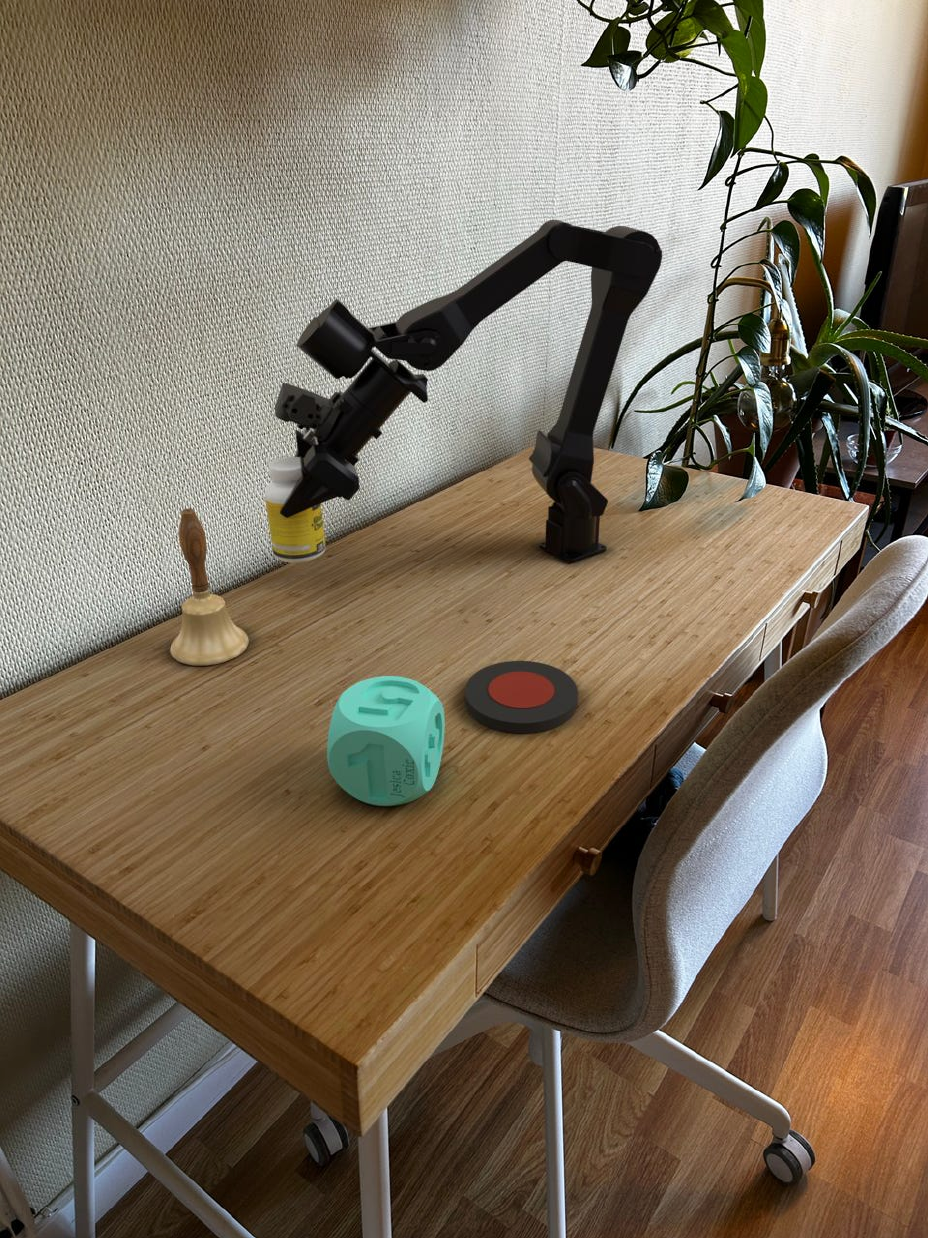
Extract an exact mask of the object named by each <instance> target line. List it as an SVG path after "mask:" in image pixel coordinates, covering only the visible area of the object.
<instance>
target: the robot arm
mask: <svg viewBox="0 0 928 1238" xmlns="http://www.w3.org/2000/svg"><path fill="white" fill-rule="evenodd" d="M662 261H663V250H662V248H661V247H660V244H659V242H658V239H657V238H655V236H654V235H653V234H651V233H650V232H647V231H645V230H641V229H637V228H634V227H630V226H627V225H616V226H612V227H610V228H609V229H607V230H605V231H603V230H599V229H593V228H589V227H583V226H578V225H573V224H572V223H569V222H566V221H562V220H559V219H549V220H547V221H545V222H544V223H542V224H541V226H540V227H539V228H538V229H537V231H535V232H534V233H532V234H530V236H528V237H527V238H525V239H524V240H523V241H521V242H520V243H519V244H517V245H516V246H515V247H513V248H512V249H510V250H509V251H508V252H507V253H505V254H504V255H502V256H501V257H500V258H498V259H497V260H496V261H494V262H493V263H491V264H490V265H488V267H486V268H485V269H483V270H482V271H480V272H479V273H478V274H476V276H474V277H473V278H471V279H470V280H468V281H467V282H466V283H465V284H463V285H462V286H460V287H458V288H457V289H456V290H454V291H452V292H450V293H448V294H445V295H443V296H440V297H439V296H438V297H436V298H434V299H430V300H428V301H426V302H424V303H421V304H420V305H418V306H416V307H414V308H411V309H410V310H408V311H406V312H405V313H403V314H402V315H401V316H400V317H399V318H398V319H397V321H394V322H389V323H383V324H382V325H376V326H375V325H374V326H371V327H367V326H366V325H365V324H364V323H363V322H362V321H361V320H360V319H358V318H357V317H356V316H355V315H354V314H352V312H351V311H350V310H349V308H348V307H347V306H346V305H345V304H344V303H343V302H342V301H341V300H340V299H338V298H336V299H334V300H333V301H332V302H331V304H330V305H329V306H327V307H326V308H325V309H323V310H322V311H321V312H320V313H319V314H318V316H314V317H313V318H312V319H311V320H310V322H309V323H308V325H306V327H305V329H304V330H303V331H302V333H301V334H300V336H299V338H298V340H297V343H296V347H297V348H298V349H299V350H300V351H302V353H304V354H305V355H306V356H308V357H309V358H310V359H311V360H312V361H314V363H316V364H317V365H318V366H320V368H321V369H323V370H324V371H325V372H327V373H328V374H329V375H330V376H331V377H333V378H334V379H335V380H341V378H344V379H345V380H348V379H353V378H354V377H355V376H356V375H357V376H356V377H355V378H354V380H353V381H352V382H351V383H350V384H349V385H348V387H347V388H346V389H345V390H344V392H342V390H339V391H335V392H334V393H333V394H332V395H331V396H330V397H329V398H328V397H326V396H322V395H321V394H318V393H315V392H313V391H310V390H308V389H304V388H302V387H299V386H296V385H294V384H291V383H287V382H282V383H281V387H280V389H279V393H278V396H277V398H276V402H275V405H274V408H273V410H274V412H275V413H274V417H276V418H277V419H278V420H280V421H283V422H285V423H289V422H291V423H293V424H296V427H297V428H298V429H295V431H294V434H295V442H296V451H295V454H294V456H293V457H300V464H301V472H302V473H301V477H300V478H299V480H298V481H297V483H296V485H295V486H294V488H293V490H292V491H291V493H290V495H289V496H288V498H287V499H286V501H285V503H284V505H283V506H282V508H281V510H280V514H281V515H283V516H284V517H286V518H288V517H291V516H293V515H295V514H297V513H300V512H302V511H304V510H306V509H309V508H311V507H313V506H316V505H318V504H321V505H322V504H323V503H326V502H328V501H331V500H333V499H336V498H338V499H339V498H340V499H344V500H346V501H350V500H351V499H352V498H353V497H354V496H355V495H356V494H357V493H358V491H359V490H360V489H361V488H360V477H359V474H358V471H357V468H356V467H355V465H356V464H357V463H358V462H359V461H360V458H359V456H358V454H359V453H360V452H361V451H362V450H363V448H364V447H365V446H366V445H367V444H368V443H369V442H370V440H372V438H373V439H375V440H378V439H379V437H380V436H381V435H382V434H383V431H382V429H381V428H382V427H383V425H384V424H385V423H386V422H387V421H388V420H389V418H390V417H391V416H392V415H393V414H394V412H396V410H397V409H398V408H399V407H400V406H401V404H402V403H403V402H404V401H405V400H406V398H407V397H408V396H409V395H410V394H413V395H414V396H415V397H416V398H417V399H418V400H419V401H421V402H422V403H424V404H425V403H427V402H429V397H428V389H427V387H428V382H429V379H428V378H427V376H426V375H425V373H419V374H414V373H413V372H412V371H411V370H410V369H409V368H407V367H406V366H405V365H404V364H403V363H402V362H401V361H405V362H406V363H407V364H408V365H409V366H410V367H412V368H414V369H416V370H418V371H424V372H432V371H435V370H437V369H439V368H440V367H442V366H443V365H444V364H445V363H446V362H447V361H448V360H450V358H452V356H453V355H454V354H455V353H456V352H457V351H458V350H459V349H460V348H461V347H462V346H463V345H464V343H465V342H466V341H467V339H468V337H469V336H470V335H471V333H472V332H473V331H474V329H475V328H476V327H477V326H478V325H479V324H480V323H481V322H483V321H484V320H485V319H486V318H488V317H489V316H490V315H492V314H494V313H495V312H496V311H498V310H499V309H500V308H502V307H503V306H504V305H506V304H507V303H508V302H510V301H511V300H513V299H514V298H515V297H517V296H518V295H520V294H521V293H523V292H524V291H525V290H526V289H527V288H529V287H530V286H532V285H534V284H535V283H536V282H538V280H540V279H542V278H543V277H544V276H545V275H547V274H548V273H550V272H551V271H553V270H554V269H555V268H557V267H559V266H560V265H561V264H562V263H564V262H568V263H573V264H578V265H581V266H586V267H590V268H591V272H590V292H591V293H590V294H591V306H590V311H589V312H588V313H589V314H588V317H587V319H586V320H587V321H586V323H585V327H584V331H583V334H582V337H581V340H580V344H579V347H578V351H577V355H576V357H575V362H574V365H573V367H572V372H571V375H570V378H569V382H568V385H567V389H566V391H565V394H564V399H563V402H562V405H561V408H560V411H559V416H558V418H557V421H556V422H555V424H554V425H553V426H552V428H551V429H550V430H549V432H545V431H544V430H543V431H542V430H540V429H539V430H537V433H536V437H535V446H534V449H533V451H532V453H531V454H530V456H529V457H528V460H529V462H530V463H531V464H532V466H531V473H532V475H533V477H534V479H535V481H536V483H537V484H538V486H540V487H541V489H542V491H544V492H545V494H546V495H547V496H548V497H549V498H550V500H552V501H553V502H552V504H551V505H549V506H548V507H547V508H548V510H547V519H546V520H545V539H544V541H542V542H539V544H538V545H539V548H540V549H542V550H544V551H546V552H548V553H550V554H552V555H553V556H555V557H558V558H560V559H561V560H563V561H565V562H567V563H575V562H578V561H581V560H584V559H586V558H590V557H592V556H595V555H598V554H601V553H604V552H606V551H607V546H606V545H604V544H603V543H600V542H599V540H600V522H601V516H603V515H604V513H605V510H606V509H607V506H608V503H609V500H608V498H607V497H606V496H605V495H604V494H603V493H602V492H601V491H600V490H599V489H598V488H597V487H596V486H595V485H594V484H593V483H592V478H593V471H594V465H595V451H594V432H595V429H596V425H597V422H598V419H599V416H600V412H601V409H602V406H603V402H604V400H605V397H606V394H607V390H608V388H609V384H610V381H611V377H612V374H613V371H614V368H615V365H616V361H617V358H618V354H619V352H620V349H621V345H622V342H623V339H624V335H625V332H626V329H627V326H628V323H629V320H630V317H631V316H632V314H633V313H634V312H635V311H636V309H637V308H638V306H639V305H640V304H641V302H642V301H643V300H645V298H646V296H647V295H648V293H649V291H650V289H651V287H652V285H653V283H654V281H655V279H656V277H657V275H658V273H659V270H660V268H661V266H662ZM374 348H375V349H377V351H379V352H380V354H382V355H383V356H384V357H385V358H387V359H389V360H392V361H389V362H388V361H387V360H386V359H384V358H383V357H382V356H381V355H380V354H378V353H377V352H376V351H375V350H374ZM370 358H371V359H370ZM369 359H370V360H369ZM368 361H369V362H368ZM367 362H368V363H367ZM366 363H367V364H366ZM364 366H365V367H364ZM300 430H303V431H302V432H301V431H300Z"/></svg>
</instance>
